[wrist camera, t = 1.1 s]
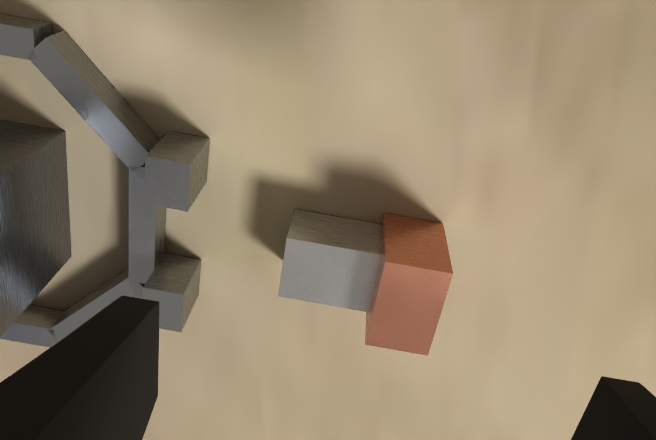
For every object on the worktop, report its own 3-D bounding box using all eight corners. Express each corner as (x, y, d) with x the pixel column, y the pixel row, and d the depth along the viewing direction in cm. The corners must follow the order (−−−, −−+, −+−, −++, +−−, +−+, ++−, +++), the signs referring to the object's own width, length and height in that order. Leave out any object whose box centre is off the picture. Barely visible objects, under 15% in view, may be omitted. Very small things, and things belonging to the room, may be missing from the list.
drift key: (421, 298, 20) (427, 355, 17) (285, 274, 20) (271, 327, 17) (443, 223, 18) (452, 273, 16) (296, 197, 18) (283, 243, 16)
